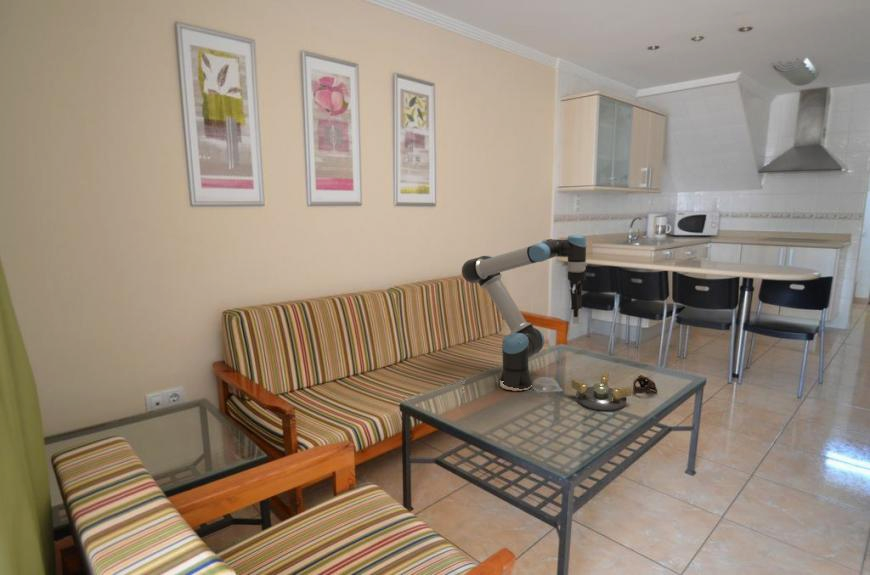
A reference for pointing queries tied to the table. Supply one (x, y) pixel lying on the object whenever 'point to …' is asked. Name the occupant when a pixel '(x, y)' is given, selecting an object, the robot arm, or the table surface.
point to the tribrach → (600, 399)
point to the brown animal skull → (644, 385)
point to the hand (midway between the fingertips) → (576, 323)
